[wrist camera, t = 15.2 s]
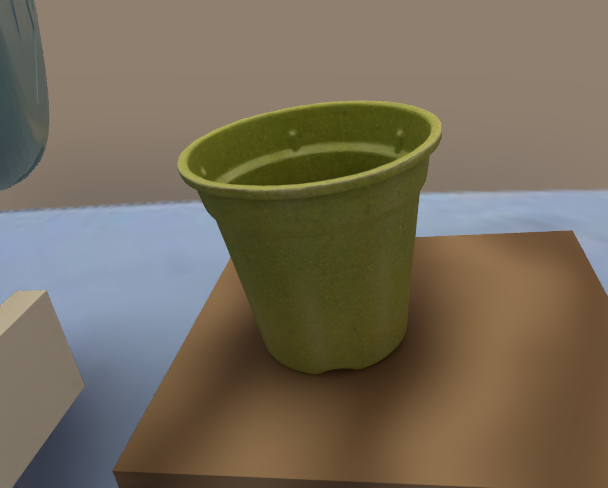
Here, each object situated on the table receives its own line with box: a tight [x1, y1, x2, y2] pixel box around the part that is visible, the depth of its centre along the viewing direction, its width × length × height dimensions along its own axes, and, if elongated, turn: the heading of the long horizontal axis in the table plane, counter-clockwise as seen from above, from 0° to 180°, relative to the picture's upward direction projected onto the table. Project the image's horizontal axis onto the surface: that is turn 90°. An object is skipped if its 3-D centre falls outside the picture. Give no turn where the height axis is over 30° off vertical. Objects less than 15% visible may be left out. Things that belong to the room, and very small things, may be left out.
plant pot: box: [177, 101, 442, 374], centre depth 23 cm, size 9×9×9 cm
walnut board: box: [113, 231, 608, 488], centre depth 25 cm, size 18×16×2 cm
